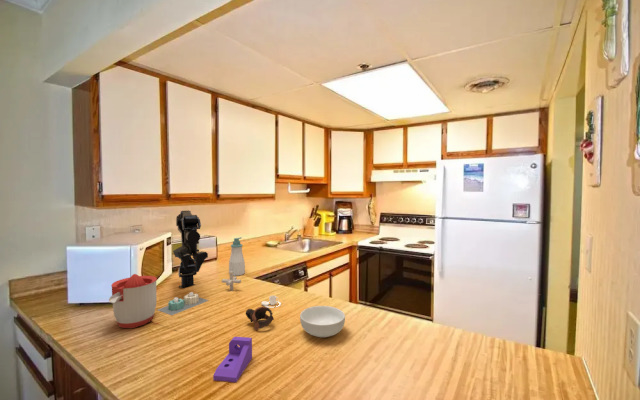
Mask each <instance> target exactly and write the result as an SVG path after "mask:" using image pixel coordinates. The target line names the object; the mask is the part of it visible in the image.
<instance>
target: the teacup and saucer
mask: <svg viewBox="0 0 640 400" xmlns="http://www.w3.org/2000/svg"><path fill="white" fill-rule="evenodd" d="M268 298H269V299H268V300H269V301H266V300H263V301H261V303H260V304H261V305H262V307H267V308H269V309H272V308H273V309H274V307H275V306H274V305H276V304H277V305H278V303H279V305H278V306H277V305H276V307H275V308H277V307H281V305H282V302H280V301H279V297H278V296H276V295H269V297H268ZM269 302H270V303H269ZM277 302H278V303H277ZM269 305H270V306H269Z"/></svg>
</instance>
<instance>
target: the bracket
mask: <svg viewBox="0 0 640 400" xmlns="http://www.w3.org/2000/svg"><path fill="white" fill-rule="evenodd" d="M252 359H253V337H244V336H233V337H232V339H231V340H230V341H229V343H228V354H227V355H226V356H225V358H223V360H222V361H221V362H220V364H219V365H218V366H217V367H216V369H215V371H214V373H213V378H212V380H213V381H219V382H227V381H228V383H237V382H238V381H239V379H240V377H241V376H242V374H243V373H244V371H245V369H246V368H247V367H248V365H249V363H250V362H251V361H252Z"/></svg>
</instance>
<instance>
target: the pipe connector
mask: <svg viewBox="0 0 640 400" xmlns="http://www.w3.org/2000/svg"><path fill="white" fill-rule="evenodd" d="M237 277H238V276H233V271H231V272H230V274H229V278H222V280H221V283H224V284H225V285H226V286H227V287H228V286H229V291H230V292H233V291H234V284H241V283H242V280H241V279H237Z"/></svg>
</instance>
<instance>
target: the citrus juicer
mask: <svg viewBox="0 0 640 400" xmlns="http://www.w3.org/2000/svg"><path fill="white" fill-rule="evenodd" d="M157 279H158V278H157V277H156V276H153V275H138V274H137V273H133V274H132V275H131V276H130V277H126V278H121V279H119V280H116V281H114V282H113V283H111V296H110V297H109V299H108V302H109V303H111V304H112V311H113V315H114V318H115V321H116V323H117V325H118V326H119V327H120V328H122V329H134V328H137V327H141V326H143V325H146V324H148V323H150V322H151V321H152V319H153V318H154V316H155V312H156V307H157Z"/></svg>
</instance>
